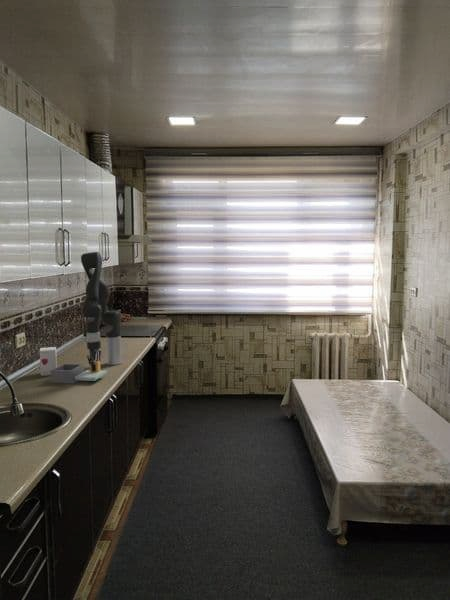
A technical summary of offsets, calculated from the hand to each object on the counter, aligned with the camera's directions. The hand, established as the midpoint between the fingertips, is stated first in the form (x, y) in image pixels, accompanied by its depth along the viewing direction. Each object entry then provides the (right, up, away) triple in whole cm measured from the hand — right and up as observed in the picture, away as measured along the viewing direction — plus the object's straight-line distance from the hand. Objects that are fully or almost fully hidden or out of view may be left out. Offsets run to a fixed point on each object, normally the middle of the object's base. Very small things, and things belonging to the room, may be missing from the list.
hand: (95, 370), depth 291 cm
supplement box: (-30, -4, +13) cm, 33 cm away
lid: (-1, -3, -5) cm, 6 cm away
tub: (-15, -5, -2) cm, 15 cm away
